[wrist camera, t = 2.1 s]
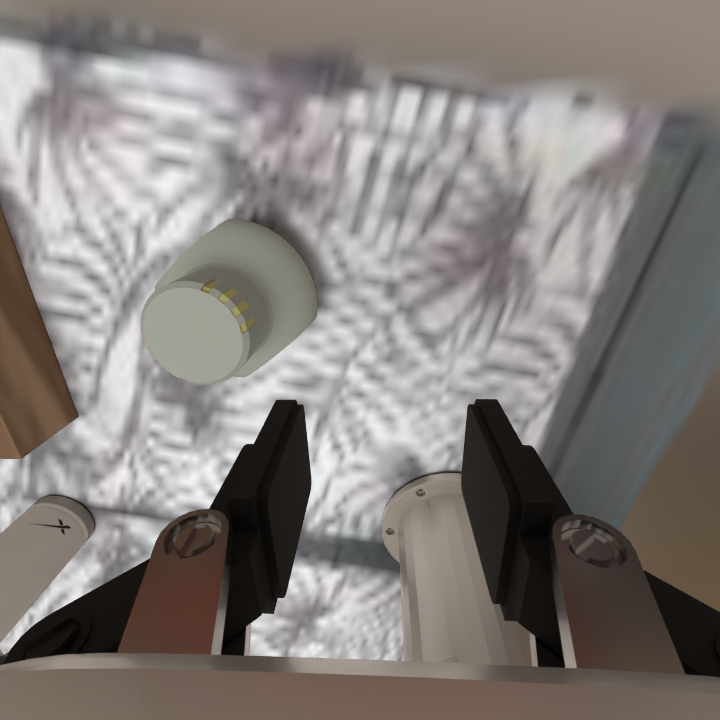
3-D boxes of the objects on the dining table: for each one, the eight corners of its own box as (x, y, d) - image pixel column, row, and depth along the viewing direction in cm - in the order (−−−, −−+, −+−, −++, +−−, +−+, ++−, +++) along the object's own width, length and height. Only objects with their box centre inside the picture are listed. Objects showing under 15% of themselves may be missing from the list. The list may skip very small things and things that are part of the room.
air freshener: (241, 370, 32) (184, 441, 23) (164, 293, 30) (68, 338, 21) (340, 290, 29) (322, 336, 20) (264, 198, 27) (203, 200, 18)
